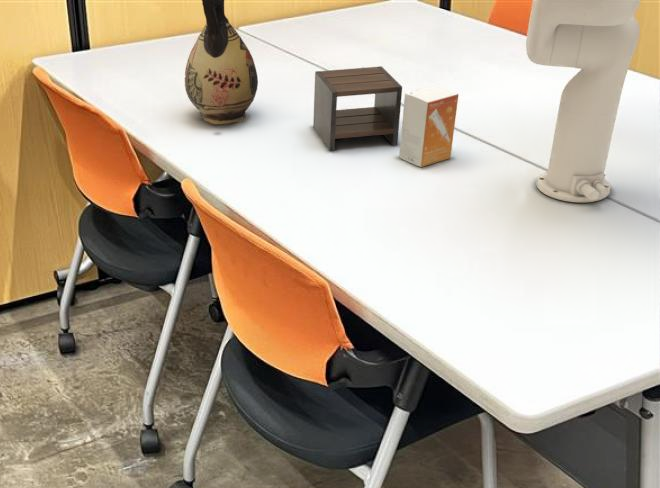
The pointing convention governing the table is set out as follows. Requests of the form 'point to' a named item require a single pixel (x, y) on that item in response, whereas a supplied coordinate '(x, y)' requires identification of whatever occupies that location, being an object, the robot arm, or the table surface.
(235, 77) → the ceramic jug
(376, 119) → the rack
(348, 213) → the table surface
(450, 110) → the small box
